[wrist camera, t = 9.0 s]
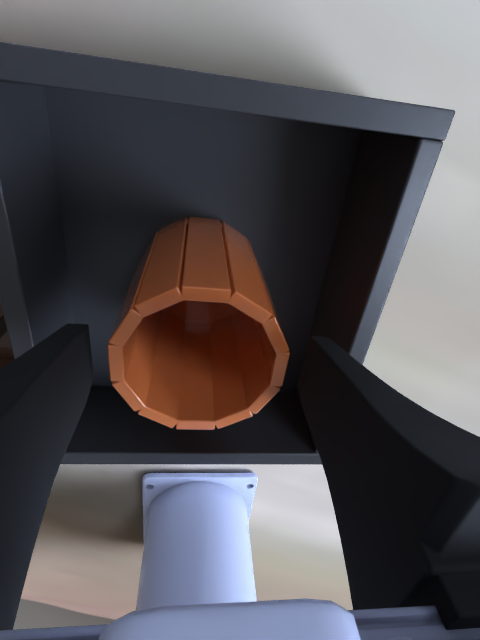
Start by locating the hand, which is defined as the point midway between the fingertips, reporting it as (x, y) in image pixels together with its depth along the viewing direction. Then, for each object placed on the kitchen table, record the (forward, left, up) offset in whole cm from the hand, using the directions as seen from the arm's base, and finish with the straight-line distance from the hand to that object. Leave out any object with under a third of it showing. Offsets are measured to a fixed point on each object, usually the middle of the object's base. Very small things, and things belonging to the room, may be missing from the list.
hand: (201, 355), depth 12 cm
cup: (0, 0, -6) cm, 6 cm away
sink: (0, 0, -7) cm, 7 cm away
